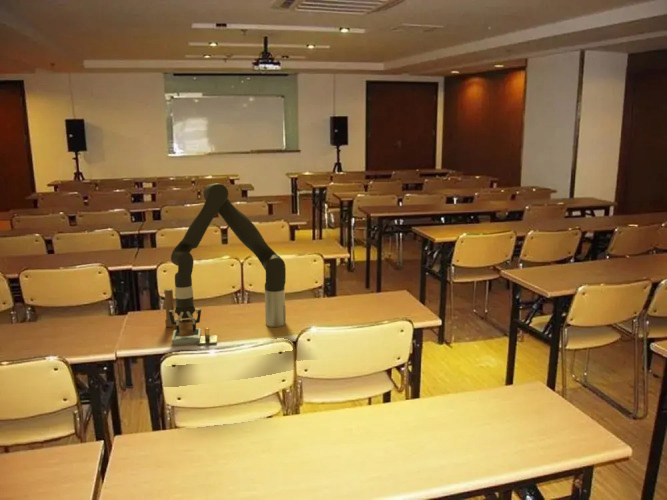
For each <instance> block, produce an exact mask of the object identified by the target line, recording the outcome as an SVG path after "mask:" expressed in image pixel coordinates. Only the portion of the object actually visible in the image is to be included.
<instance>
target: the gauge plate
mask: <svg viewBox="0 0 667 500" xmlns="http://www.w3.org/2000/svg"><path fill="white" fill-rule="evenodd" d="M217 344H218V335H216V334H214V335H211V334H210V328H209V327H204V335H201V336H200V341H198V344H197V346H198V347H199V346H200V347H201V346H210V345H211V346H213V345H217Z"/></svg>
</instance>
